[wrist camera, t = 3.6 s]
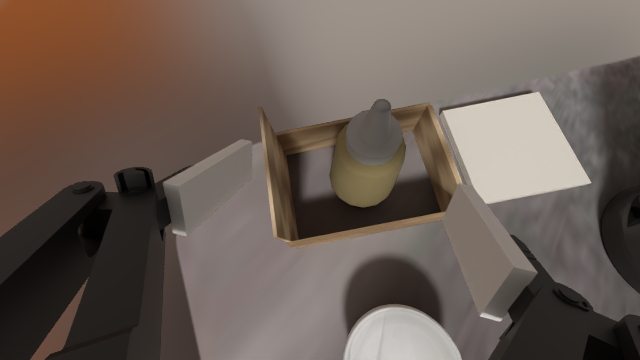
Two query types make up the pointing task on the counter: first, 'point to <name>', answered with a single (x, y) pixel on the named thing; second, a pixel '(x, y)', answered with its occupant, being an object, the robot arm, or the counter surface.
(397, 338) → the ramekin
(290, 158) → the counter surface
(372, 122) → the squeeze bottle
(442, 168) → the wooden box
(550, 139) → the cutting board
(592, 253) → the counter surface
